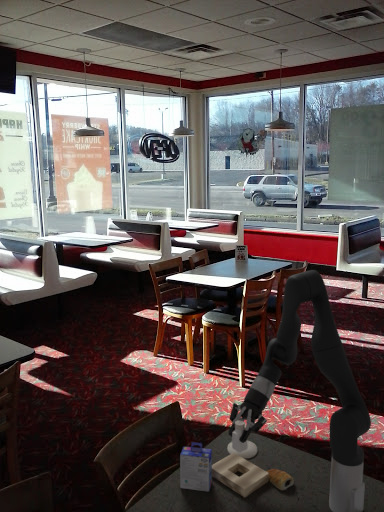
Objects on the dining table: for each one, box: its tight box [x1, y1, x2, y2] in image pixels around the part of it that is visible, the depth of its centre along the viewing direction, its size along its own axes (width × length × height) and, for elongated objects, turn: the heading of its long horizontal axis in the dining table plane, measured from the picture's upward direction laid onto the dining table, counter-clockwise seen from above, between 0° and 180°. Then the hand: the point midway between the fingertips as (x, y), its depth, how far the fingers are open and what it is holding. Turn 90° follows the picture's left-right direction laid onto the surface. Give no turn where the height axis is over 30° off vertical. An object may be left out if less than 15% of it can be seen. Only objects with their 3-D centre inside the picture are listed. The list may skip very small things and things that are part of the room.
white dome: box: [226, 440, 258, 460], centre depth 183 cm, size 11×11×1 cm
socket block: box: [212, 453, 270, 498], centre depth 167 cm, size 16×12×3 cm
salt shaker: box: [231, 420, 249, 453], centre depth 164 cm, size 4×4×10 cm
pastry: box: [266, 468, 295, 491], centre depth 165 cm, size 9×7×4 cm
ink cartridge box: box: [179, 441, 213, 492], centre depth 162 cm, size 10×6×14 cm, turn 78°
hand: (235, 438), depth 163 cm, fingers closed on salt shaker, 4 cm apart
